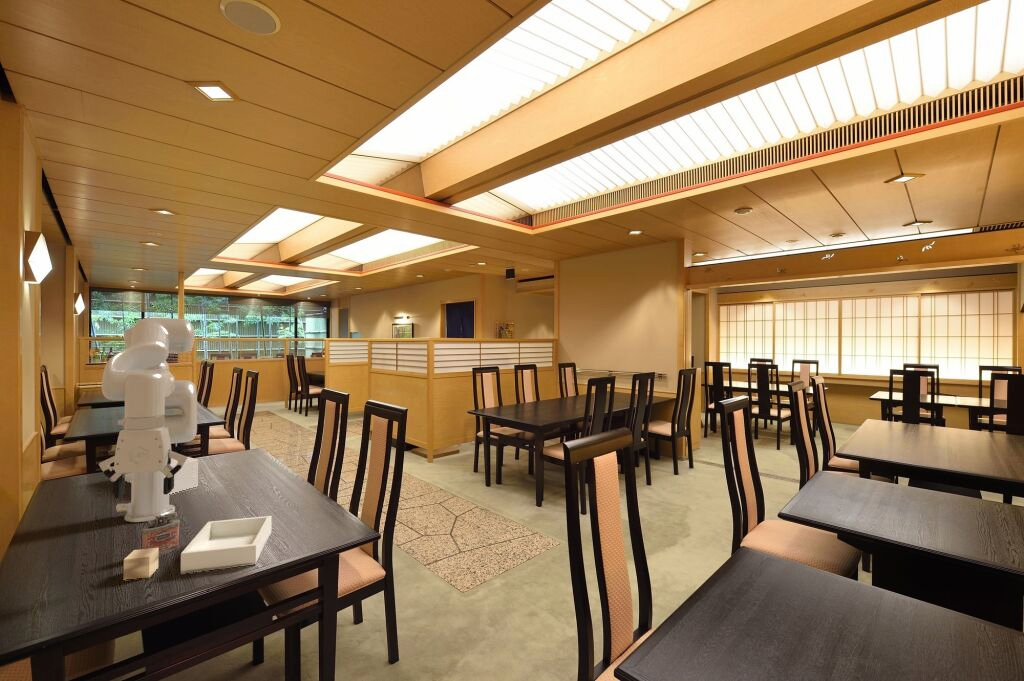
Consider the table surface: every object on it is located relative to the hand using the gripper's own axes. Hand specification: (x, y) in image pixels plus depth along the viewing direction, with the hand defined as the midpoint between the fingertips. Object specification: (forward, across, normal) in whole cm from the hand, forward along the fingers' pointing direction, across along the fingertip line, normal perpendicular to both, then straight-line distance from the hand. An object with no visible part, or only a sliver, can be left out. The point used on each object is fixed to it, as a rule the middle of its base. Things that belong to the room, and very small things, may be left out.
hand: (144, 494), depth 110 cm
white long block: (+18, -24, +77) cm, 83 cm away
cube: (+19, 0, 0) cm, 19 cm away
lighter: (+19, 0, +11) cm, 22 cm away
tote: (+19, +17, +7) cm, 26 cm away
